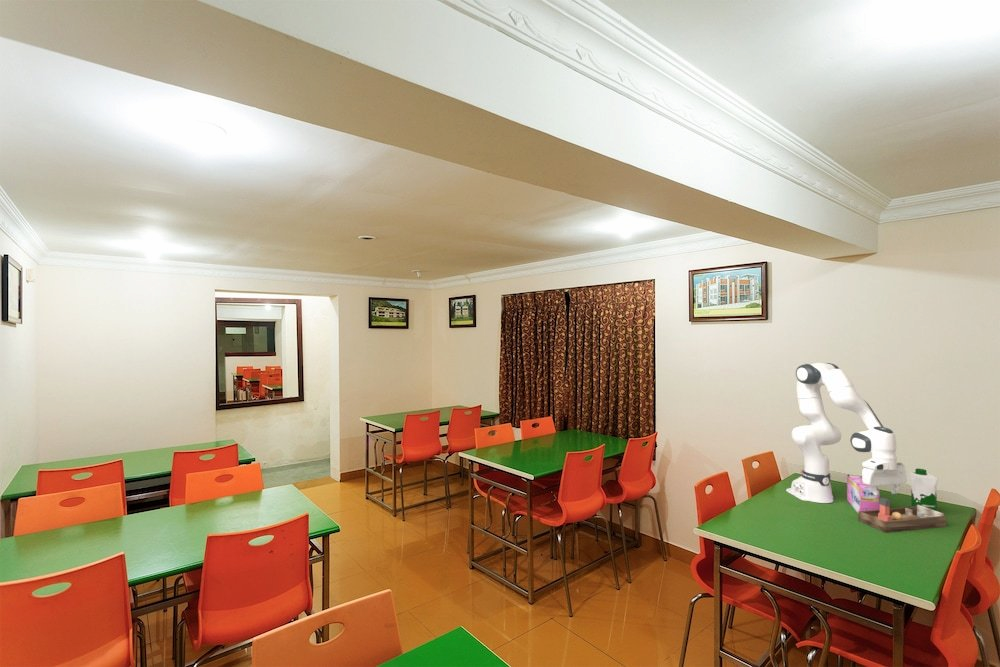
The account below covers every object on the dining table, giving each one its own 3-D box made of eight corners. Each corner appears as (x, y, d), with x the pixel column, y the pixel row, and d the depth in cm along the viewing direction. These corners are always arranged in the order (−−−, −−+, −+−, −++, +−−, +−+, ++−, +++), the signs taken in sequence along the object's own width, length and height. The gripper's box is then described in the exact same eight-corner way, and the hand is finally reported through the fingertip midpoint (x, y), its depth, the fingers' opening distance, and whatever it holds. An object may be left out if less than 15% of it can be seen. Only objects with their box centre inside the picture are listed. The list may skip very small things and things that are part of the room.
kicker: (877, 518, 218) (877, 497, 218) (882, 518, 218) (882, 497, 218) (887, 522, 213) (886, 500, 213) (891, 522, 214) (891, 500, 214)
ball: (889, 518, 218) (889, 511, 218) (896, 518, 219) (896, 510, 219) (897, 521, 215) (897, 513, 215) (904, 521, 215) (903, 513, 215)
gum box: (845, 499, 249) (845, 473, 249) (864, 501, 246) (863, 475, 246) (860, 515, 227) (859, 487, 227) (880, 518, 224) (880, 489, 224)
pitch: (858, 521, 221) (858, 509, 221) (916, 515, 226) (916, 504, 226) (885, 532, 208) (885, 520, 208) (946, 526, 213) (946, 514, 213)
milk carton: (928, 509, 234) (928, 468, 234) (941, 516, 225) (940, 474, 225) (908, 508, 236) (907, 467, 236) (919, 514, 227) (918, 473, 227)
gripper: (896, 460, 220) (898, 490, 220) (858, 463, 217) (859, 493, 217) (910, 463, 214) (911, 494, 214) (871, 466, 211) (872, 498, 210)
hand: (885, 494), depth 215 cm, fingers open, 8 cm apart
